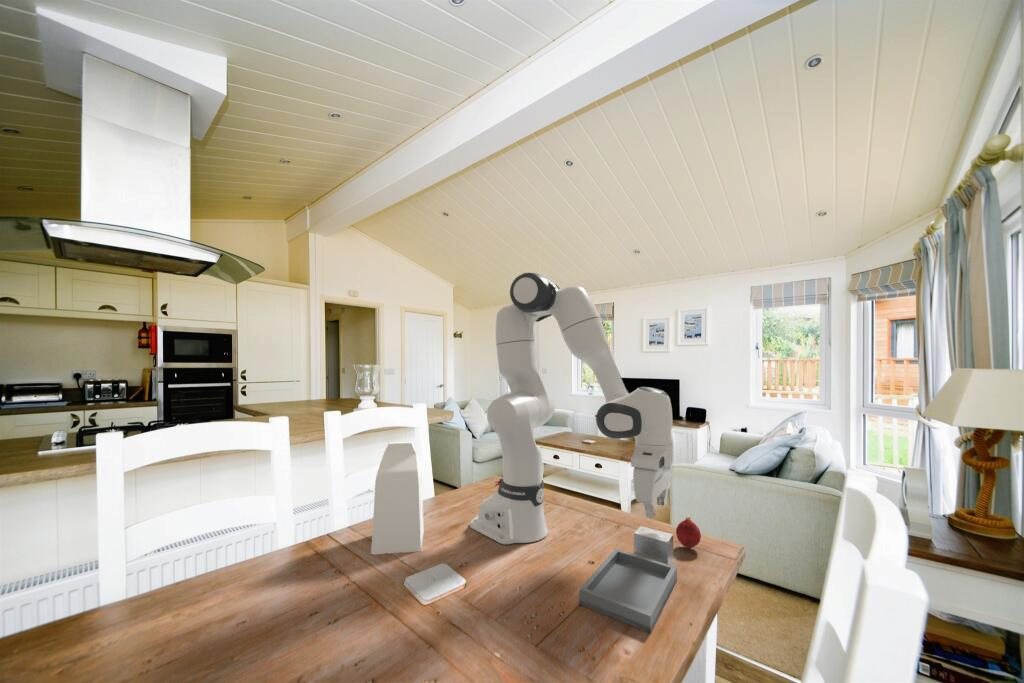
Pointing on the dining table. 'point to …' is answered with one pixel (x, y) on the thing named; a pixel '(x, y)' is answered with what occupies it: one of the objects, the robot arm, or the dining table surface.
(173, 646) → the dining table surface
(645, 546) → the block
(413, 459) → the milk
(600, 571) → the tray
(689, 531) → the onion
